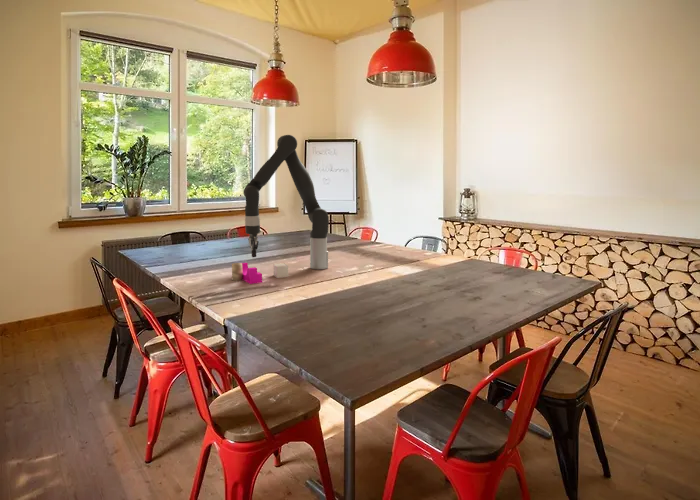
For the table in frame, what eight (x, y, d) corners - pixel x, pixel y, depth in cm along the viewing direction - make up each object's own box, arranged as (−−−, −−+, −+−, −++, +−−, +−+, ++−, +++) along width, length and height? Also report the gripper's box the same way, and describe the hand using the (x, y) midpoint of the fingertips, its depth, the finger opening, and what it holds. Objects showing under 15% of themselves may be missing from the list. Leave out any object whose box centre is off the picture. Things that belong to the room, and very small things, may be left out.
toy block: (262, 282, 222) (262, 267, 221) (249, 284, 219) (249, 269, 218) (251, 276, 235) (250, 262, 233) (239, 277, 231) (238, 263, 230)
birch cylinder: (241, 278, 230) (241, 262, 228) (243, 280, 225) (243, 264, 224) (231, 279, 228) (230, 263, 226) (233, 281, 223) (232, 265, 222)
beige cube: (284, 274, 240) (284, 263, 239) (288, 277, 234) (288, 265, 233) (273, 275, 237) (273, 264, 236) (276, 278, 232) (276, 266, 231)
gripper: (262, 225, 234) (264, 258, 237) (256, 222, 245) (258, 254, 249) (248, 226, 231) (249, 260, 234) (242, 223, 242) (244, 255, 246)
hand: (254, 256), depth 241 cm, fingers closed
